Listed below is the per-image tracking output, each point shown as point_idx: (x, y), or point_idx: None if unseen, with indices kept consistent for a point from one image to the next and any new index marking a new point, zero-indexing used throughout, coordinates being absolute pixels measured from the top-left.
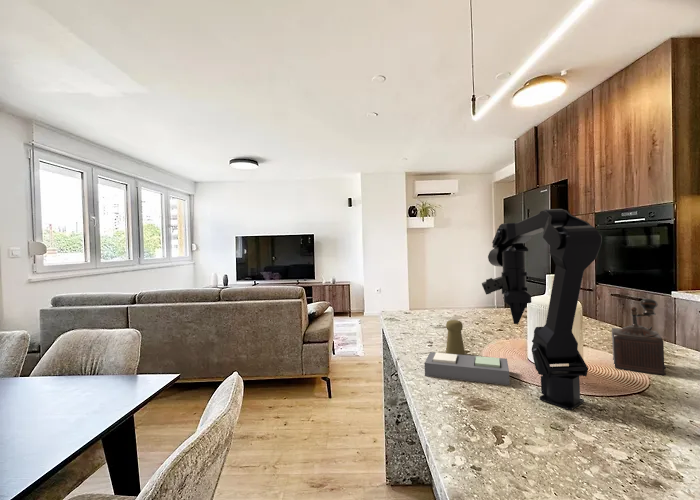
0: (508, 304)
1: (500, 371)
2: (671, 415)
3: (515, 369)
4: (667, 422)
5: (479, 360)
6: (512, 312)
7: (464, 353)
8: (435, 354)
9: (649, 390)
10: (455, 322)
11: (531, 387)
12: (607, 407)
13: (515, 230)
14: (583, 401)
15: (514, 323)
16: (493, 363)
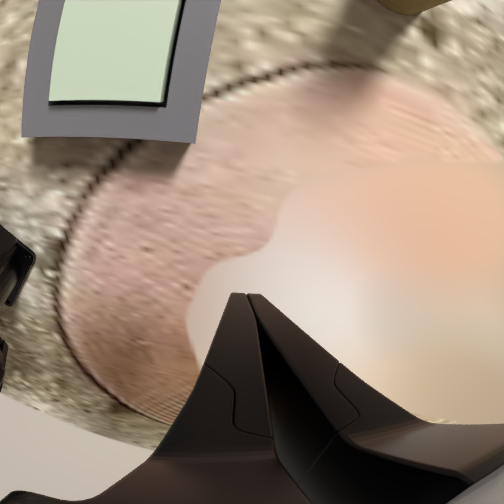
0: (135, 472)
1: (25, 102)
2: (41, 400)
3: (225, 171)
4: (11, 383)
5: (105, 6)
6: (201, 377)
7: (391, 6)
8: None
9: (145, 420)
10: None
11: (50, 198)
12: (14, 334)
13: None
14: (6, 302)
15: (230, 296)
16: (69, 71)
